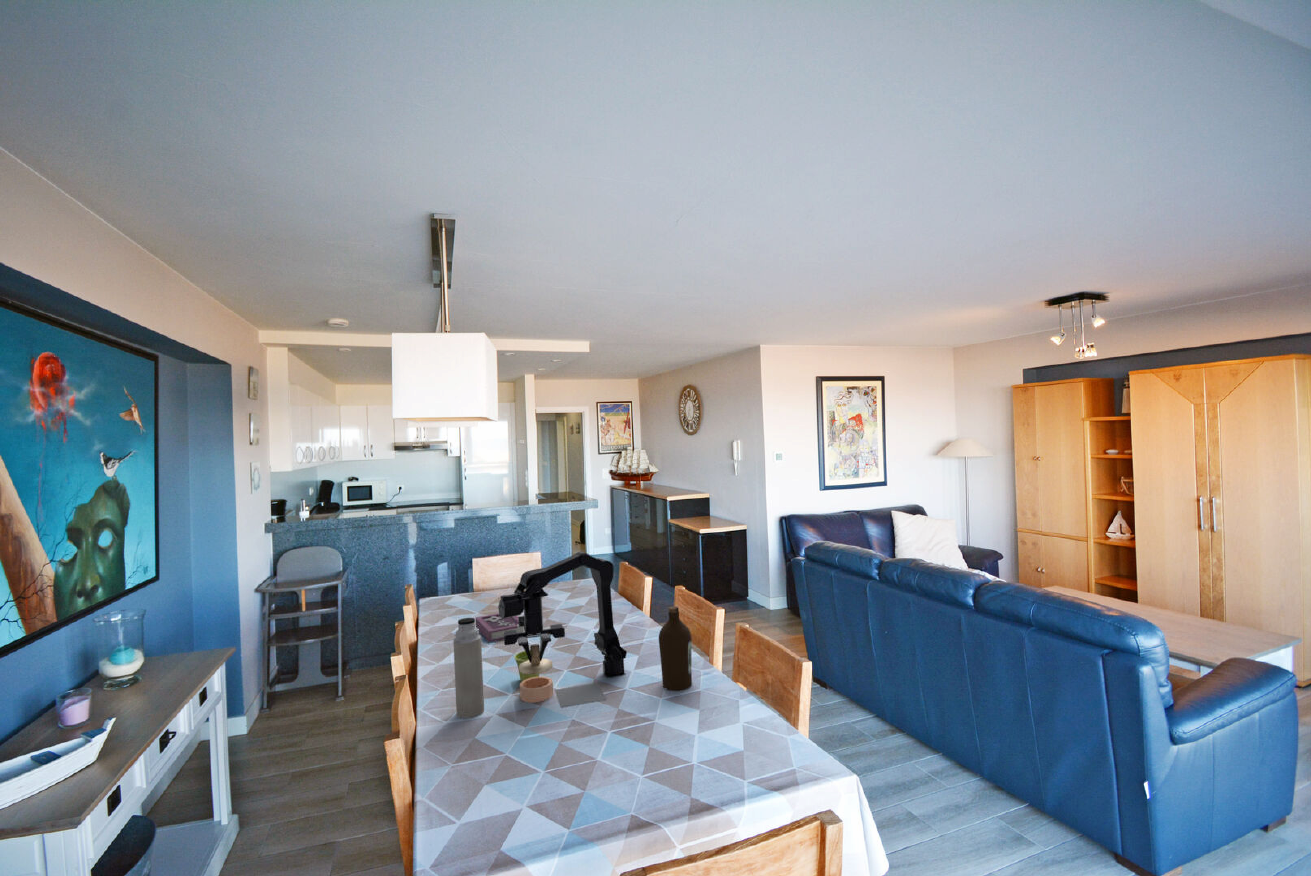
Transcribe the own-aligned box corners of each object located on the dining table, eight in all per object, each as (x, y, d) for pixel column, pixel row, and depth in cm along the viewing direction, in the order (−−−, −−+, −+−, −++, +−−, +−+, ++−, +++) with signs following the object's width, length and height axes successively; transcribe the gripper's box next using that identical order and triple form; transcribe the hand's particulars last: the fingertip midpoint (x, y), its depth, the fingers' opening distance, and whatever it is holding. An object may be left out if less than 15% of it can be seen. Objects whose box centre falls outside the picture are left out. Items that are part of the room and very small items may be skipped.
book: (527, 635, 250) (527, 623, 250) (489, 643, 242) (489, 631, 243) (511, 621, 273) (511, 610, 273) (475, 628, 265) (475, 617, 265)
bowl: (550, 688, 192) (550, 674, 192) (554, 700, 183) (554, 686, 183) (519, 693, 190) (518, 679, 190) (521, 706, 180) (521, 691, 180)
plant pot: (537, 686, 195) (535, 660, 195) (510, 685, 197) (509, 659, 197) (547, 675, 204) (546, 650, 204) (522, 674, 206) (521, 649, 206)
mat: (597, 684, 194) (597, 682, 194) (606, 701, 180) (606, 699, 180) (555, 691, 190) (555, 689, 190) (560, 709, 176) (560, 707, 176)
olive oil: (661, 692, 185) (657, 613, 185) (660, 679, 195) (656, 604, 196) (695, 690, 185) (691, 611, 186) (692, 677, 196) (688, 602, 196)
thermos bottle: (467, 705, 183) (463, 614, 183) (489, 707, 180) (485, 616, 180) (450, 716, 175) (446, 622, 175) (473, 719, 172) (469, 623, 173)
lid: (550, 659, 193) (549, 638, 193) (554, 670, 183) (553, 648, 183) (517, 664, 190) (516, 643, 190) (520, 676, 180) (519, 653, 180)
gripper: (559, 602, 197) (561, 648, 197) (501, 609, 192) (504, 657, 191) (563, 610, 186) (566, 660, 186) (503, 618, 181) (505, 669, 181)
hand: (535, 661), depth 186 cm, fingers closed on lid, 3 cm apart
